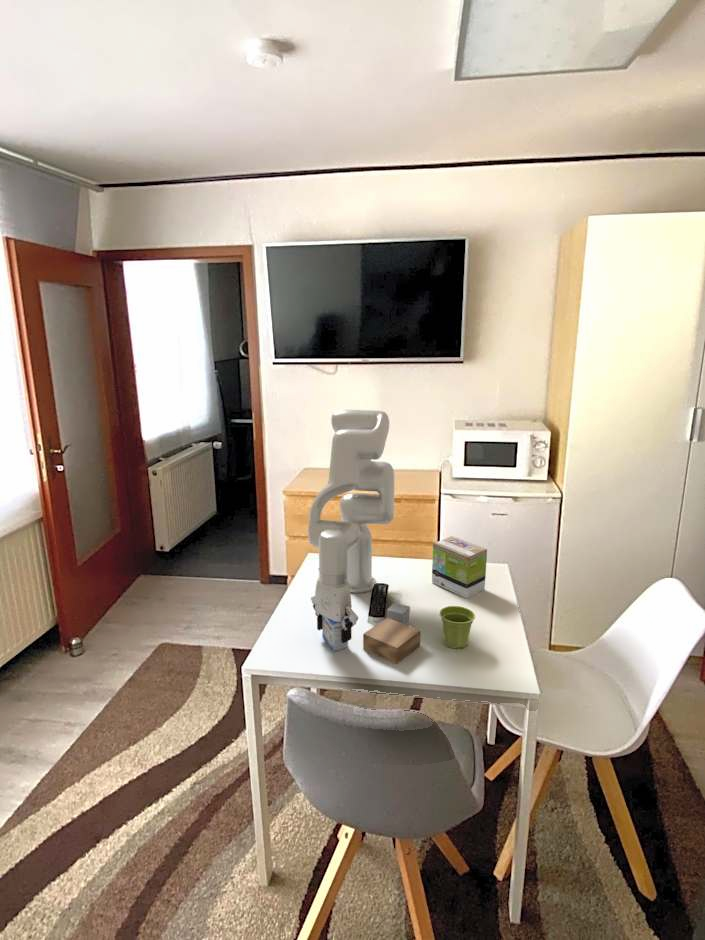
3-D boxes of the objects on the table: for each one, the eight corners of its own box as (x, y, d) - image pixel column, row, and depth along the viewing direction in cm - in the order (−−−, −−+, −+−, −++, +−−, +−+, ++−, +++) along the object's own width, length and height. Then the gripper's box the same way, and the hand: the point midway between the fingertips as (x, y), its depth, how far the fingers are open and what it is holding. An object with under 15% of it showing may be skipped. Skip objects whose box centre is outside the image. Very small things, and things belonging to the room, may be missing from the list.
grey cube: (386, 625, 166) (386, 609, 165) (393, 617, 170) (394, 602, 169) (402, 629, 164) (402, 613, 162) (409, 621, 168) (409, 606, 167)
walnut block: (363, 650, 154) (363, 633, 153) (387, 633, 162) (387, 617, 161) (397, 665, 147) (397, 648, 146) (420, 646, 156) (420, 630, 154)
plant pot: (446, 630, 163) (447, 602, 161) (478, 639, 158) (479, 610, 156) (433, 645, 155) (434, 617, 153) (466, 655, 151) (467, 626, 149)
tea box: (430, 583, 192) (431, 542, 189) (450, 575, 199) (451, 535, 195) (466, 599, 181) (468, 556, 177) (485, 590, 187) (488, 547, 184)
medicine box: (322, 637, 160) (321, 609, 158) (336, 633, 162) (336, 605, 159) (333, 651, 153) (333, 622, 151) (348, 647, 155) (348, 618, 153)
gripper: (301, 571, 155) (302, 628, 160) (346, 590, 144) (347, 652, 148) (321, 562, 161) (322, 618, 165) (367, 581, 149) (366, 641, 153)
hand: (334, 634), depth 156 cm, fingers closed on medicine box, 9 cm apart
